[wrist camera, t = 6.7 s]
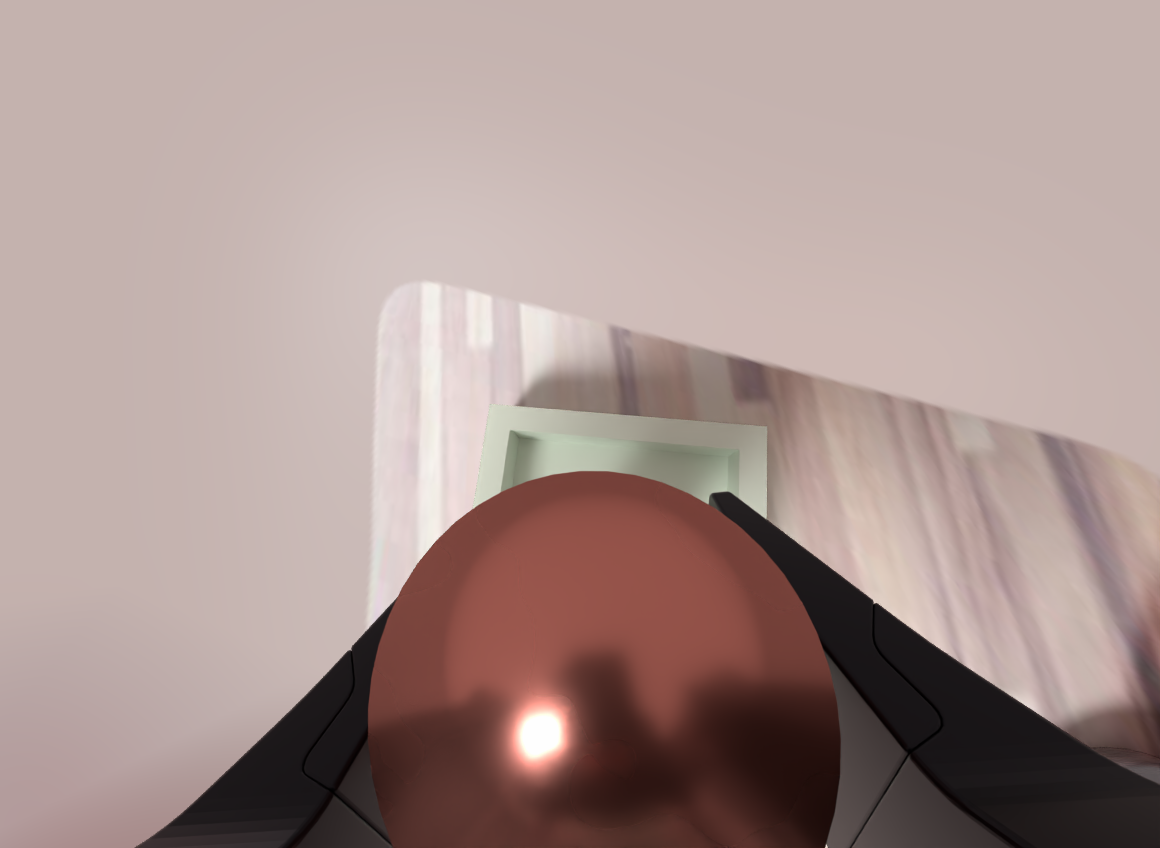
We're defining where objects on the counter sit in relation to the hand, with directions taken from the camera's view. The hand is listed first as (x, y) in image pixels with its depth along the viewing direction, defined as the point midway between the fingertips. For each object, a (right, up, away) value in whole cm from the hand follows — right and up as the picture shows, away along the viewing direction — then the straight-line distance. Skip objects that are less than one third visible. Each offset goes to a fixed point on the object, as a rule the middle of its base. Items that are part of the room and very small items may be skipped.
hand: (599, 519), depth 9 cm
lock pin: (+1, -3, +7) cm, 8 cm away
